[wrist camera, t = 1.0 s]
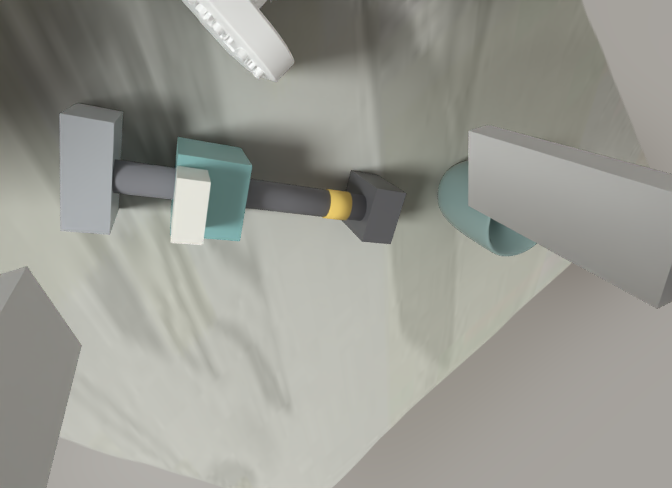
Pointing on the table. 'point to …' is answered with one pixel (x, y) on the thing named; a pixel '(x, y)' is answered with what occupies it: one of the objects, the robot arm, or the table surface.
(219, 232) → the sleeve
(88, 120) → the grey slab
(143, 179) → the grey rod
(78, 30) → the table surface
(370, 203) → the block
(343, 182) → the table surface
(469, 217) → the cup
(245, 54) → the cable organizer
